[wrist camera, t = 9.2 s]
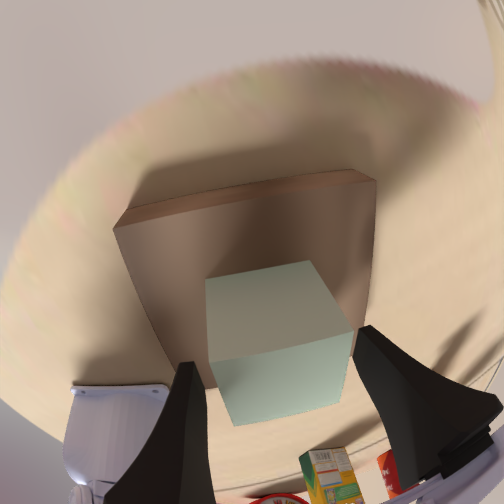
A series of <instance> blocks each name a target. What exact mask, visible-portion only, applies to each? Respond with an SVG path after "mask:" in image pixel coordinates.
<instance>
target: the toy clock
mask: <svg viewBox="0 0 504 504" xmlns="http://www.w3.org/2000/svg"><path fill="white" fill-rule="evenodd" d="M249 504H309V503H308V502H307V501H305V500H304V499H302V498H300V497H298V496H295V495H292V494H287V493H277V494H272V495H269V496H266V497H263V498H261V499H258V500H256V501H253V502H251V503H249Z"/></svg>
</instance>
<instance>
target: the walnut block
mask: <svg viewBox="0 0 504 504" xmlns="http://www.w3.org/2000/svg"><path fill="white" fill-rule="evenodd" d="M375 212H376V180H374V179H372V178H370V177H368V176H366V175H364V174H362V173H360V172H358V171H356V170H354V169H347V170H338V171H330V172H322V173H314V174H307V175H299V176H292V177H286V178H279V179H273V180H266V181H260V182H254V183H249V184H243V185H237V186H232V187H226V188H221V189H216V190H211V191H206V192H201V193H196V194H191V195H187V196H182V197H178V198H173V199H169V200H164V201H160V202H156V203H151V204H147V205H143V206H139V207H135V208H131V209H127V210H126V211H125V212H124V214H123V215H122V216H121V218H120V219H119V221H118V222H117V223H116V225H115V226H114V228H113V231H114V234H115V237H116V240H117V243H118V245H119V248H120V251H121V254H122V256H123V259H124V261H125V264H126V267H127V269H128V272H129V274H130V277H131V279H132V282H133V284H134V286H135V289H136V291H137V293H138V296H139V298H140V300H141V303H142V305H143V307H144V309H145V312H146V314H147V316H148V318H149V320H150V322H151V324H152V327H153V329H154V331H155V333H156V335H157V337H158V339H159V341H160V343H161V345H162V347H163V349H164V351H165V353H166V355H167V357H168V359H169V360H170V362H171V364H172V366H173V368H174V370H175V372H176V371H177V367H178V364H179V363H180V362H189V361H194V362H195V365H196V367H197V370H198V372H199V375H200V377H201V380H202V382H203V385H204V387H205V389H211V388H218V385H217V383H216V380H215V378H214V375H213V372H212V370H211V367H210V364H209V356H208V339H207V318H206V293H205V279H209V278H215V277H221V276H226V275H232V274H237V273H243V272H248V271H254V270H259V269H264V268H270V267H275V266H280V265H286V264H291V263H296V262H302V261H307V260H310V261H311V263H312V264H313V266H314V268H315V269H316V271H317V272H318V274H319V275H320V277H321V278H322V280H323V281H324V283H325V285H326V286H327V288H328V289H329V291H330V293H331V294H332V296H333V297H334V299H335V300H336V302H337V304H338V305H339V307H340V309H341V310H342V312H343V313H344V315H345V317H346V318H347V320H348V322H349V323H350V325H351V326H352V328H353V330H354V335H353V340H352V346H351V351H350V356H353V352H354V348H355V343H356V338H357V334H358V329H359V328H361V327H364V321H365V315H366V308H367V301H368V294H369V286H370V277H371V268H372V257H373V245H374V231H375ZM350 356H349V357H350Z"/></svg>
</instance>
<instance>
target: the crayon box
mask: <svg viewBox="0 0 504 504" xmlns="http://www.w3.org/2000/svg"><path fill="white" fill-rule="evenodd" d="M299 461H300V465H301V468H302V472H303V475H304V479H305V482H306V486H307V489H308V493H309V496H310V500H311V504H346V503H347V504H351V503H354V504H365V502H364V499H363V497H362V493H361V491H360V488H359V485H358V483H357V480H356V477H355V474H354V471H353V468H352V466H351V463H350V460H349V457H348V455H347V452H346V449H345V447H341V448H335V449H326V450H315V451H312V450H310V451H308V452H306V453H305V454H303V455H302V456H300V457H299Z"/></svg>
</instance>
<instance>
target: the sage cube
mask: <svg viewBox="0 0 504 504" xmlns="http://www.w3.org/2000/svg"><path fill="white" fill-rule="evenodd" d="M205 293H206V318H207V339H208V356H209V364H210V367H211V370H212V372H213V375H214V378H215V380H216V383H217V385H218V388H219V391H220V393H221V396H222V398H223V401H224V403H225V406H226V408H227V411H228V413H229V415H230V418H231V420H232V423H233V425H234V426H240V425H246V424H252V423H258V422H263V421H268V420H273V419H278V418H282V417H287V416H291V415H295V414H299V413H303V412H307V411H311V410H315V409H318V408H322V407H325V406H329V405H332V404H335V403H338V402H339V401H340V397H341V393H342V389H343V385H344V380H345V376H346V371H347V366H348V361H349V356H350V351H351V346H352V340H353V335H354V330H353V328H352V326H351V325H350V323H349V322H348V320H347V318H346V317H345V315H344V313H343V312H342V310H341V309H340V307H339V305H338V304H337V302H336V300H335V299H334V297H333V296H332V294H331V293H330V291H329V289H328V288H327V286H326V285H325V283H324V281H323V280H322V278H321V277H320V275H319V274H318V272H317V271H316V269H315V268H314V266H313V264H312V263H311V261H310V260H307V261H302V262H296V263H291V264H286V265H280V266H275V267H270V268H264V269H259V270H254V271H248V272H243V273H237V274H232V275H226V276H221V277H215V278H209V279H205Z"/></svg>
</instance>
